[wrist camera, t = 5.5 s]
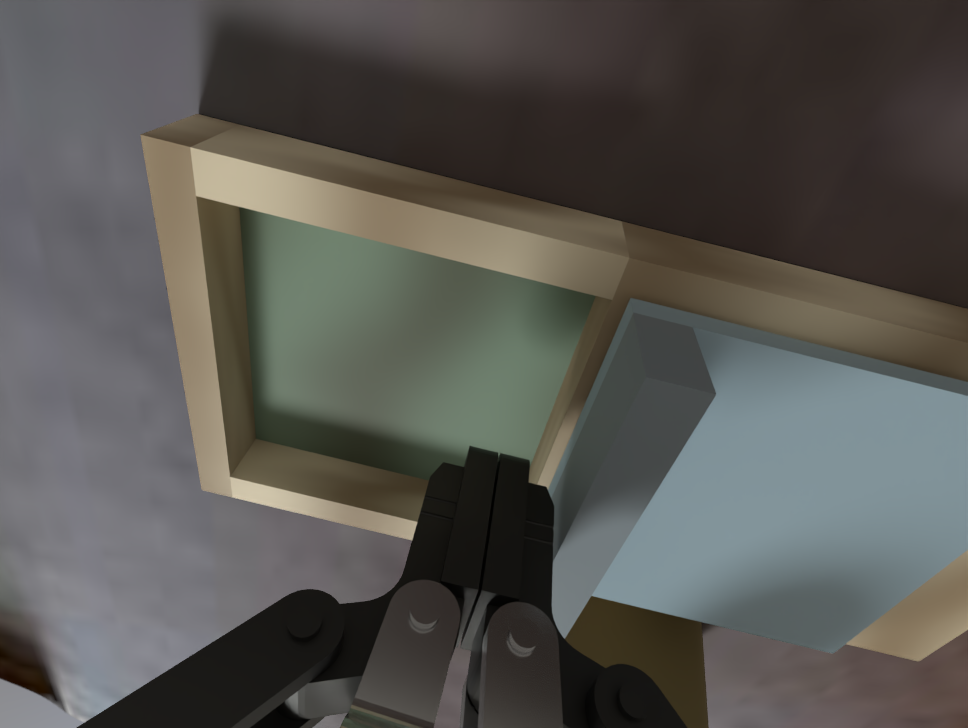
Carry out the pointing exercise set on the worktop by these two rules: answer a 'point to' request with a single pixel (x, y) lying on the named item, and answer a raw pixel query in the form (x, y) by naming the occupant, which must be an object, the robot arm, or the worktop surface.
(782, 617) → the cover
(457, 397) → the board
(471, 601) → the robot arm
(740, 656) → the worktop surface
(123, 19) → the worktop surface
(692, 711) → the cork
